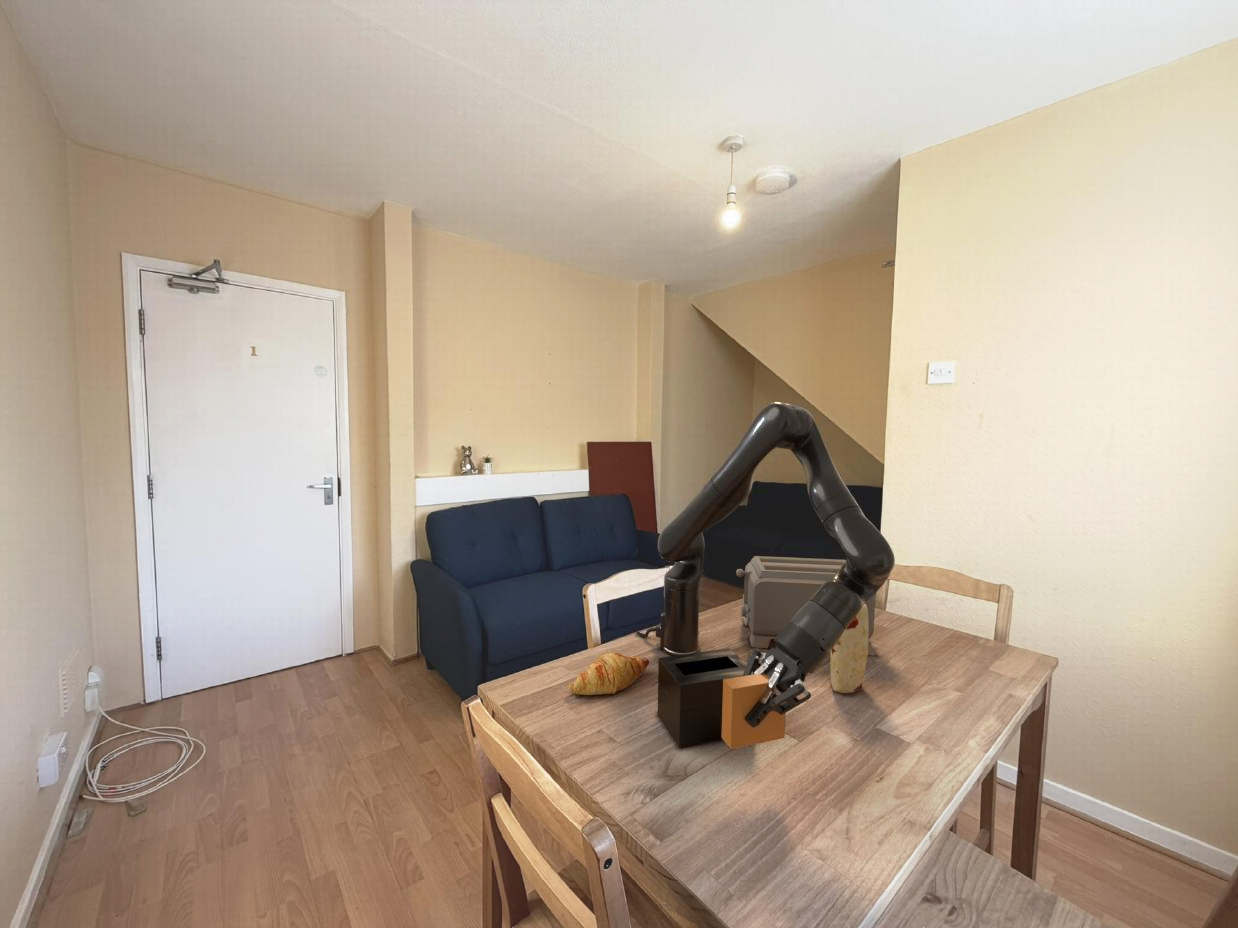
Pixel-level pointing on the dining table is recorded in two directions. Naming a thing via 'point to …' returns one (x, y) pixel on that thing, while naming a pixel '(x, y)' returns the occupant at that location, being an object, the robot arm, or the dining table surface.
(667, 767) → the dining table surface
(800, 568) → the toaster
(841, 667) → the food model
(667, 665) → the slot toaster
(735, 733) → the orange slab
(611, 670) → the croissant
